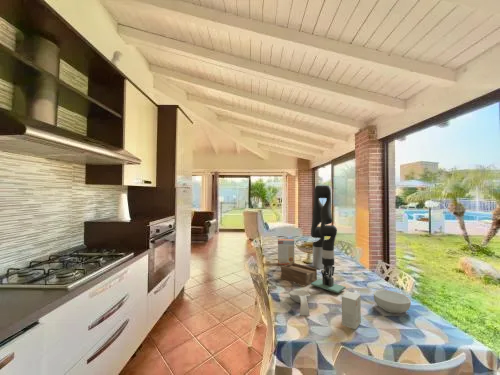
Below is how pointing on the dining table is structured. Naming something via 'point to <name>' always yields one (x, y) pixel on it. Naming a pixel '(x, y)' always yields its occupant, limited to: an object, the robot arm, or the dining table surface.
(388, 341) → the dining table surface
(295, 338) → the dining table surface
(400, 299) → the cereal bowl
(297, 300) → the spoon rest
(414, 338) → the dining table surface
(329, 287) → the cover plate
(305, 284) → the lid box
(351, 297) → the small box
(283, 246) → the cracker box
